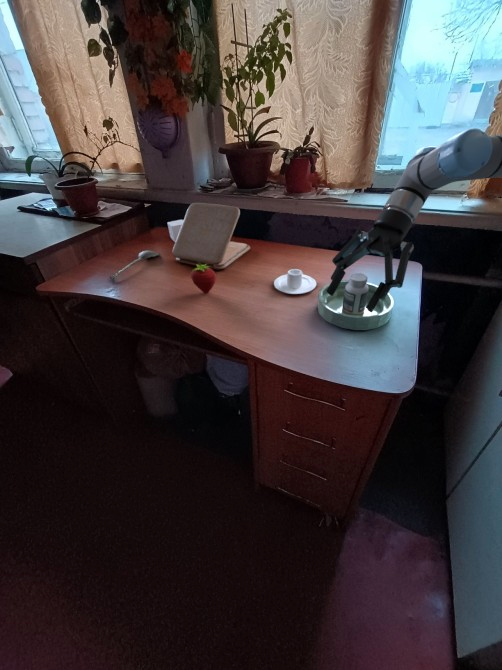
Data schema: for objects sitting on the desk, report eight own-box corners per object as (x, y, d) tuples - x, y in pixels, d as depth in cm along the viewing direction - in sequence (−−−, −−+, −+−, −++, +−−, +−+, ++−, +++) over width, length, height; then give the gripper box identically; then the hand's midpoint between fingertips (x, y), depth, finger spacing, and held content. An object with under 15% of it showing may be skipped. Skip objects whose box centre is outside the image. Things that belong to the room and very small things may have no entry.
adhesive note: (189, 238, 123) (186, 223, 119) (174, 242, 121) (171, 226, 117) (184, 234, 127) (181, 219, 124) (170, 237, 125) (167, 222, 122)
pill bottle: (362, 303, 79) (368, 271, 73) (366, 315, 75) (373, 282, 69) (340, 303, 79) (345, 271, 74) (343, 315, 75) (348, 282, 70)
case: (171, 262, 106) (160, 214, 96) (207, 241, 120) (201, 197, 110) (220, 273, 97) (214, 221, 87) (253, 249, 111) (251, 202, 102)
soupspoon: (164, 256, 112) (149, 255, 114) (161, 247, 110) (147, 246, 112) (119, 282, 95) (104, 280, 98) (116, 272, 94) (100, 270, 96)
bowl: (400, 306, 78) (404, 292, 75) (372, 341, 68) (376, 326, 65) (337, 287, 87) (339, 274, 84) (304, 315, 77) (305, 302, 74)
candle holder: (293, 272, 96) (293, 258, 93) (324, 284, 88) (326, 270, 86) (265, 286, 90) (264, 272, 87) (296, 301, 82) (297, 286, 80)
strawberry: (208, 302, 84) (202, 268, 78) (189, 294, 88) (182, 261, 82) (222, 292, 88) (218, 259, 82) (203, 285, 92) (198, 253, 85)
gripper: (449, 236, 68) (397, 325, 69) (358, 216, 81) (315, 290, 83) (448, 217, 62) (390, 315, 63) (349, 199, 75) (304, 280, 77)
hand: (348, 301), depth 73 cm, fingers open, 10 cm apart
